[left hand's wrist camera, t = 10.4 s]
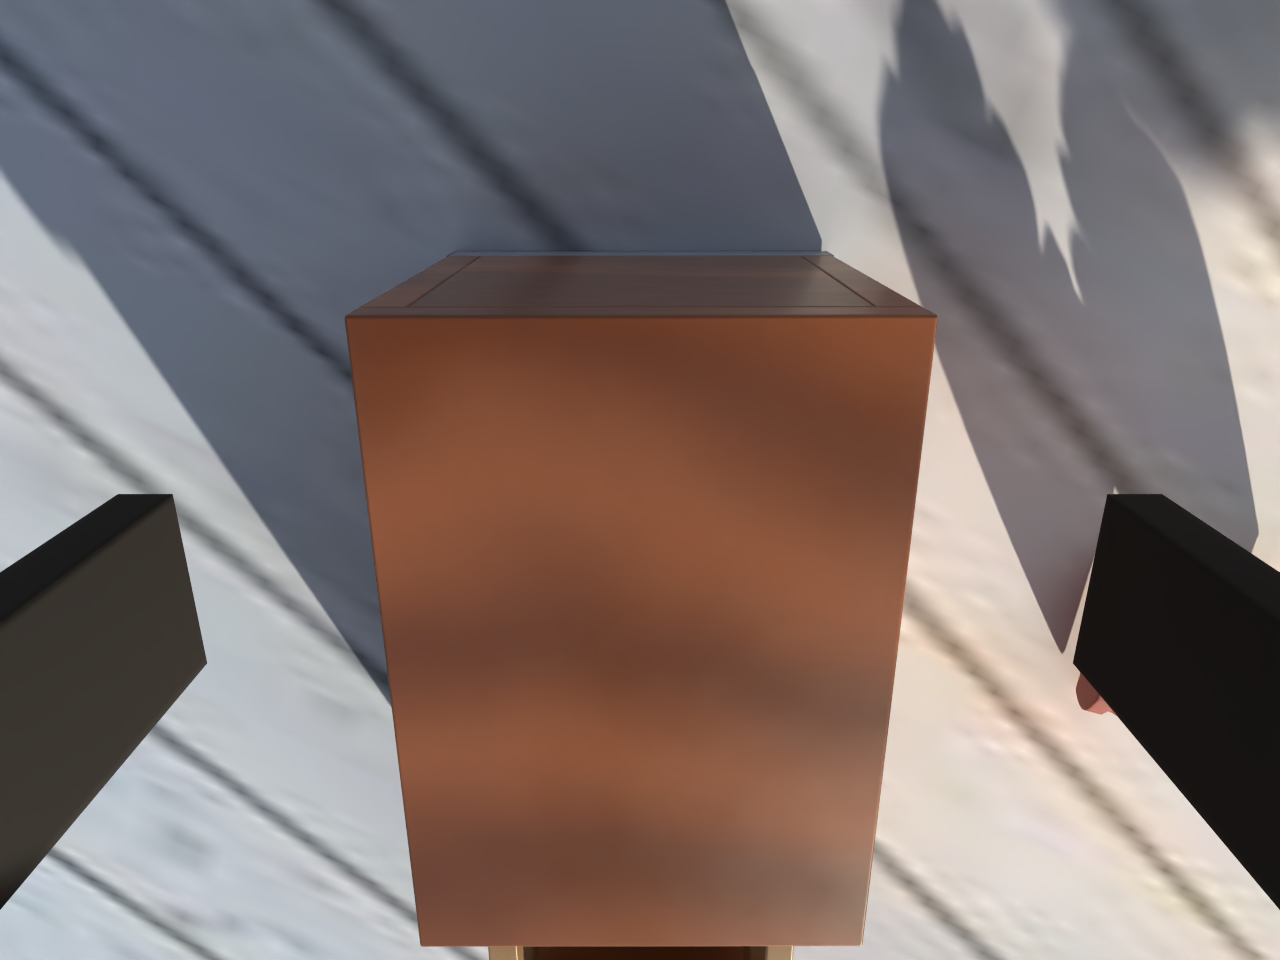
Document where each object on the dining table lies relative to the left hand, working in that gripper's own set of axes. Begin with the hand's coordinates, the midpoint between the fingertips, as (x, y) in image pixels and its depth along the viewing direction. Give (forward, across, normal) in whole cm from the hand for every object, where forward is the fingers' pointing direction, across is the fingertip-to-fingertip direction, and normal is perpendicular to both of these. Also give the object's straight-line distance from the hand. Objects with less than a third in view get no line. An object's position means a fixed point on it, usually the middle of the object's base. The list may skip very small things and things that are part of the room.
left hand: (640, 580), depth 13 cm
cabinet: (+16, 0, -5) cm, 17 cm away
